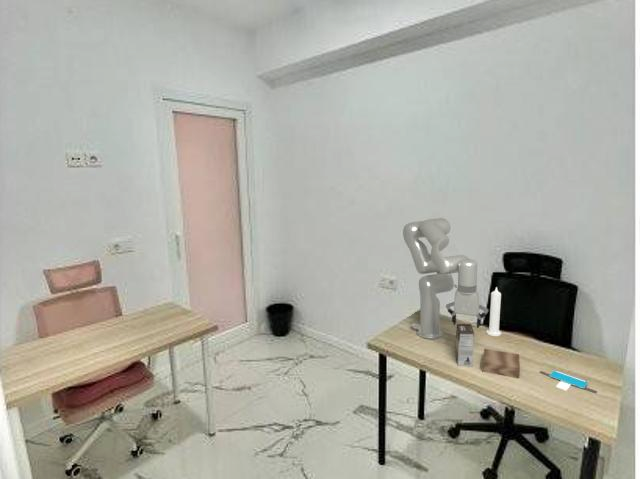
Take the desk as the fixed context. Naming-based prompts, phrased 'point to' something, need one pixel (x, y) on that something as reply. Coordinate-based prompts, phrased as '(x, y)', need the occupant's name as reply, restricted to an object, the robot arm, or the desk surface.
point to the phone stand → (568, 380)
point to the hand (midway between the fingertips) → (466, 325)
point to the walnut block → (501, 363)
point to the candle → (494, 314)
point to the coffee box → (464, 344)
